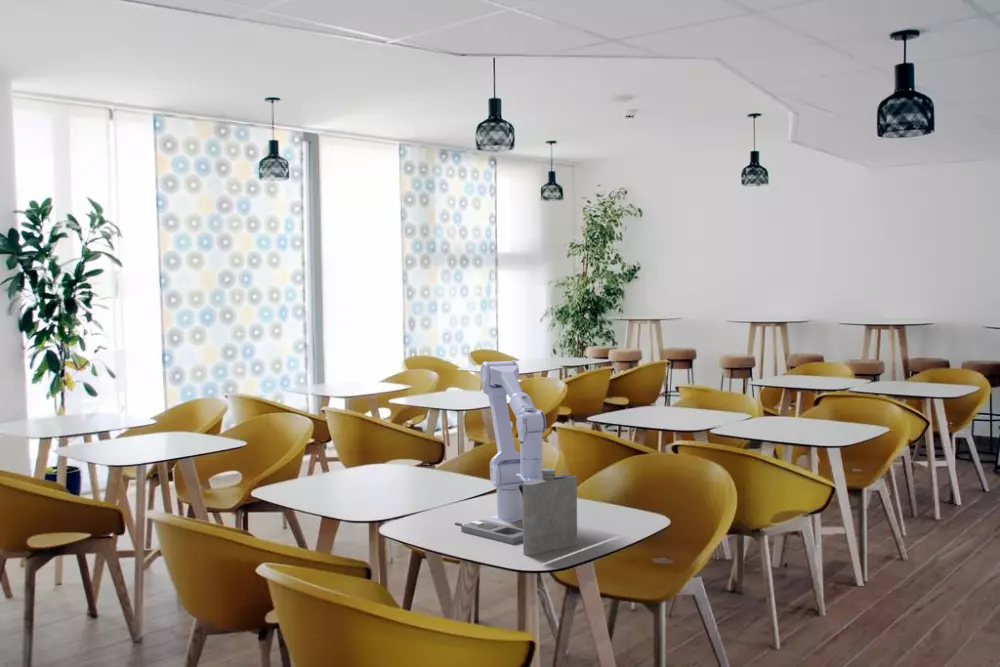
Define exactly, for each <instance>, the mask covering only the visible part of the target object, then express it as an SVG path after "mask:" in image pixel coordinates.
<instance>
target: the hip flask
mask: <svg viewBox="0 0 1000 667" xmlns="http://www.w3.org/2000/svg"><path fill="white" fill-rule="evenodd" d="M541 473H542V479H537V480H533V481H528V482H524V483H523V524H522V529H523V541H522V544H523V545H522V546H523V547H522V548H523V553H522V554H523V556H527V557H534V556H537V555H539V554H543V553H547V552H550V551H556V550H560V549H564V548H570V547H577V545H578V486H577V485H578V476H577V475H576V474H575V475H574V474H558V475H556V473H557V469H556V468H546V467H545V468H542V469H541Z"/></svg>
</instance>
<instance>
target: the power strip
mask: <svg viewBox="0 0 1000 667" xmlns="http://www.w3.org/2000/svg"><path fill="white" fill-rule="evenodd" d="M454 526H458V527H461V528H460V531H461V532H462V533H466V534H468V535H469V534H470V535H474V536H478V537H483V538H485V539H486V538H487V539H489V540H494V541H498V542H501V543H507V544H509V545H515V544H519V543H521V542H522V543H523V528H519V527H515V526H511V525H507V524H503V523H498V522H495V521H491V520H485V519H480V520H473V521H470V523H466V524H464V523H460V522H455V523H454Z"/></svg>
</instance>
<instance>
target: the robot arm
mask: <svg viewBox="0 0 1000 667" xmlns="http://www.w3.org/2000/svg"><path fill="white" fill-rule="evenodd" d="M519 369H520V368H519V364H518V363H517V361H516V360H505V361H504V360H502V361H483V362H482V364H481V365H480V370H479V376H480V384H481V389H482V393H483V394H485V395H487V396H488V400H489V406H490V411H491V412H490V413H491V419H492V425H493V431H494V437H495V443H496V449H497V453H496V454H495V455H494V456H493V457H492V458H491V459H490V461H489V479H490V482H491V484H492V486H494V488H496V515H492V516H490V517H489V518H490V519H494V520H497V521H498V520H499V521H502V522H506V523H507V522H508V523H514V522H518V521H521V520H522V496H523V483H524V482H528V481H533V480H537V479H543V478H542V473H541V469H543V433H545V431H546V429H547V420H546V416H545V413H544V411H543V410H540V409H538V408H536V406H535V405H534V403H533V401H532V399H531V397H530V395H529V394H528V393H526V392H523V390H522V389H523V388H522V386H521V385H520V382H519V376H520V370H519ZM507 396H508V397H509V403H508V399H507ZM508 404H509V405H508ZM509 407H510V408H511V412H513V414H514V416H515V418H516V422H515V423H516V425H515V426H516V430H517V439H518V441H520V442H519V445H520V446H519V448H520V449H519V450H520V451H517V450H516V447H515V440H514V435H513V429H512V424H511V422H512V421H511V418H510V412H509V411H510V410H509Z"/></svg>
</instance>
